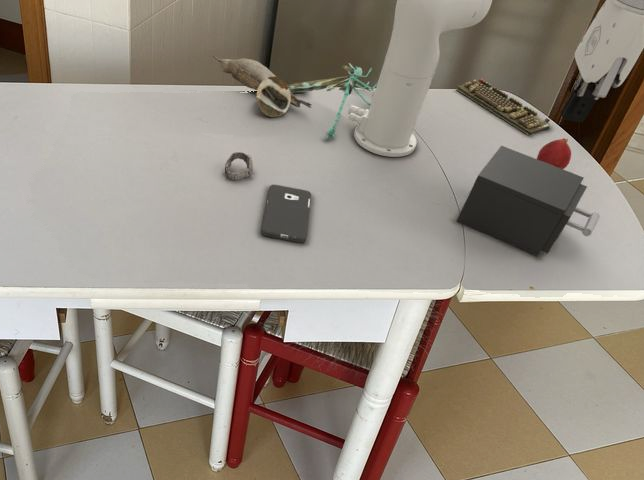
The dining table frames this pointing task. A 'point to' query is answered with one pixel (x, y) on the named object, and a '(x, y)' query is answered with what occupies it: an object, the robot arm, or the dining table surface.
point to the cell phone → (286, 213)
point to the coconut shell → (273, 96)
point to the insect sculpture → (330, 83)
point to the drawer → (565, 221)
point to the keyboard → (503, 106)
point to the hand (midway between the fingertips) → (571, 118)
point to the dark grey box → (519, 200)
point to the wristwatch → (243, 173)
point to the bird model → (252, 75)
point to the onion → (556, 153)
